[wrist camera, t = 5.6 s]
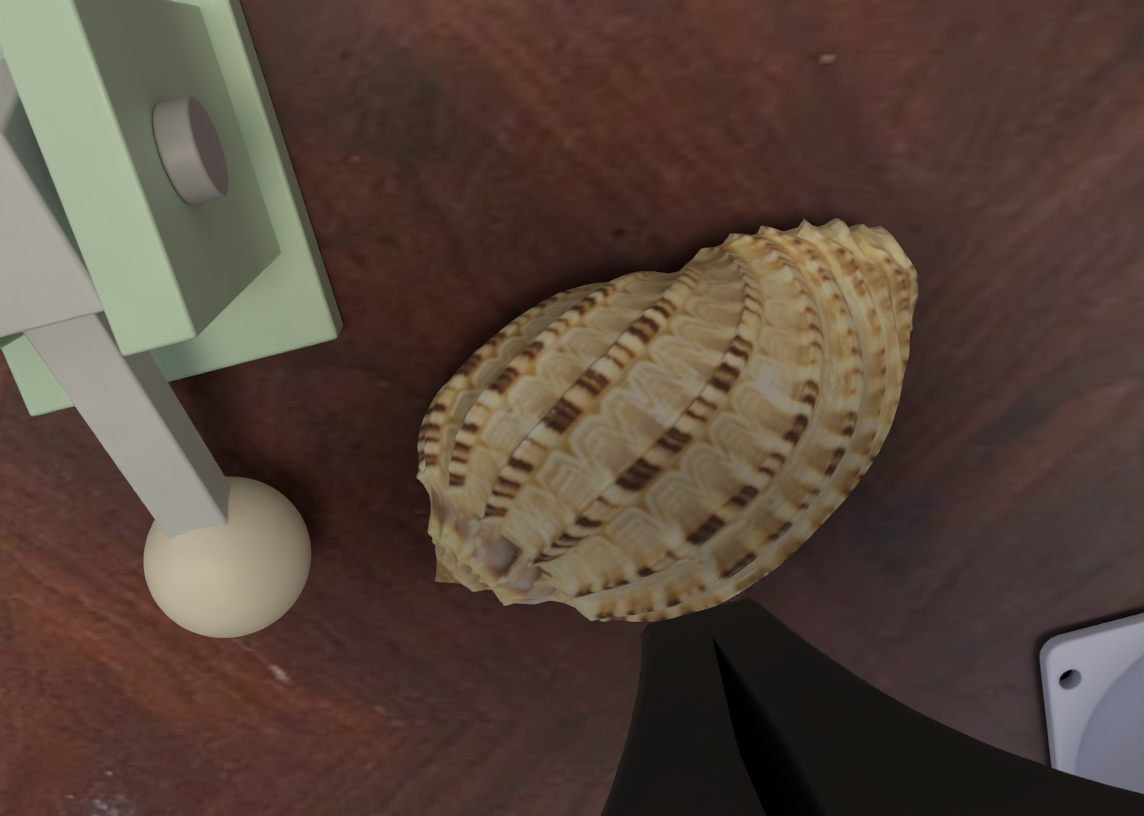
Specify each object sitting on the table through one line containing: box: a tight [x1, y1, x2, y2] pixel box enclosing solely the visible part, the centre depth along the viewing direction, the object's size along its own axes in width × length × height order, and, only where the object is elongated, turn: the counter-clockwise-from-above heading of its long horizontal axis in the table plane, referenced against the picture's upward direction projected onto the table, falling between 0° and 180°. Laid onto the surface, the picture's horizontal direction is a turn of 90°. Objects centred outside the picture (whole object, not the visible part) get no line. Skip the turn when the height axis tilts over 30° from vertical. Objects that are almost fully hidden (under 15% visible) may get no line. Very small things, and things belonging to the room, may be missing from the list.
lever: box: [0, 59, 311, 638], centre depth 17 cm, size 11×3×3 cm, turn 13°
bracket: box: [0, 0, 343, 416], centre depth 16 cm, size 8×6×7 cm
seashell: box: [417, 218, 918, 622], centre depth 20 cm, size 8×6×10 cm
